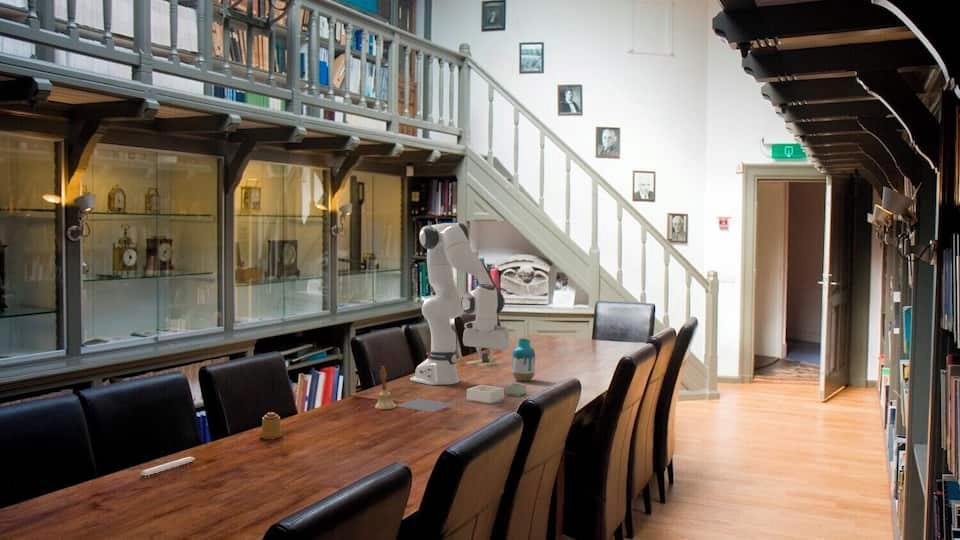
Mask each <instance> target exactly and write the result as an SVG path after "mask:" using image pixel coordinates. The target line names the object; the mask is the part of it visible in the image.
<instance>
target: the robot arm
mask: <svg viewBox="0 0 960 540" xmlns="http://www.w3.org/2000/svg"><path fill="white" fill-rule="evenodd" d="M418 235H419V236H418V237H419V242H420V245H421V246H422V247H423V248H424V249H427V250H426V264H427V275H428V283H429V285H430V286H431V287H432V289H433V290H434V292H435V295H436V296H432V297H430V298H428V299H426V300H424V302H423V303H422V305H421V313H422V316H423V317H424V319H425V320H426V321H427V323H428V326H429V327H428V328H429V331H430V341H431V342H430V350H429V351H427V352H425V353H426V354H425V355H428V356H427V358H426V359H425V360H423V361H422V362H421V363H420V364H418V365H417V366H416V368H415V372H414V376H411V377H410V378H409V381H411V382H416V383H420V384H426V385H429V386H437V385H439V386H440V385H444V386H445V385H453V384H457V383H459V382H460V380H459V377H458V371H457V358H458V357H457V353H458V352H457V350H456V349H457V342H456V341H457V334H456V332H455V331H454V330H453V328H452V324H451V320H452V319H456V318H458V317H460V316H461V315H463V314H464V313H465V314H467V315H473V316H474V315H475V319H474V320H471V321H468V322H466V323H464V324H463V325H464V331H463V334H462V335H463V336H462V344H463V346H464V347H473V348H476V349H475V350H476V353H477V354H478V359H482V354H483V351H482V349H489V352H490V353H489V355H488V360H494V354H495V353H496V351H497V350H499V351H501V350H502V351H506V350H508V349H509V348H510V337H509V336H510V331H509V329H508V327H506V326H501V325H498V315H499V314H500V313H501V312H502V311H503V309H504V308H505V305H506V304H505V303H506V302H505V301H506V300H505V298H504V295H503V294H502V292H501V291H500V290H499V288H498V287H497V285H496V283H495V281H494V279H493V278H492V276H491V273H490V271H489V270H488V268H487V266H486V264H485V263H484V261H483V260H482V259H481V258H479V257H478V256H477V255H476V253H475V252H474V250H472V248H471V246H470V245H471V244H470V243H469V242H470V241H469V230H468V228H467V226H466V225H465V224H464V223H461V222H455V223H453V222H444V223H443V222H442V223H437V224H432V225H430V224H427V225H425V226H423V227H421V229H420V231H419V234H418ZM453 269H455V270H456V271H460V272H463V273H464V272H465V273H467V274H468V275H469V274H470V275H471V276H473V277H475V278H476V280H478V283H479V284H478V285H477V286H476V288H475V289H473V290H470V291H466V292H465V293H464V294H463V296H462V297H461V295H460V294H459V292H458V289H457V287H456V283H455V279H454V272H453Z"/></svg>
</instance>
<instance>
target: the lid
mask: <svg viewBox="0 0 960 540" xmlns="http://www.w3.org/2000/svg"><path fill="white" fill-rule="evenodd" d="M488 355H490V353H486V352H482V359H480V358H476V359H473V360H472V359H471V360H468V361H465V362H464V365H467V366H468V365H469V366H477V367H484V368H494V367H497V366H501V365H504V364H507V361H506V360H498V359H492V360H488Z"/></svg>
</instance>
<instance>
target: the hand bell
mask: <svg viewBox="0 0 960 540" xmlns="http://www.w3.org/2000/svg"><path fill="white" fill-rule="evenodd" d="M379 377H380V381H381V389H382V391H381V392H379V393H378V400H377V402H376V404H375V406H374V408H376V409H380V410H390V409H394V408H396V407H397V406H396V405H397V404H396V403H395V402H394V401H393V399H392V398H393V397H392V394H391V392H390V391H388V389H387V378H388V374H387V370H386V368H385V365H381V366H380V371H379Z"/></svg>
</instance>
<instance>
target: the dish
mask: <svg viewBox="0 0 960 540" xmlns="http://www.w3.org/2000/svg"><path fill="white" fill-rule="evenodd" d="M466 401H469V402H475V403H482V404H489V405H491V404H493V403H500V402H503V401H505V387H499V386H493V385H486V384H478V385H476V386H473V387H470V388H469V387H468V388H467V389H466Z"/></svg>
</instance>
